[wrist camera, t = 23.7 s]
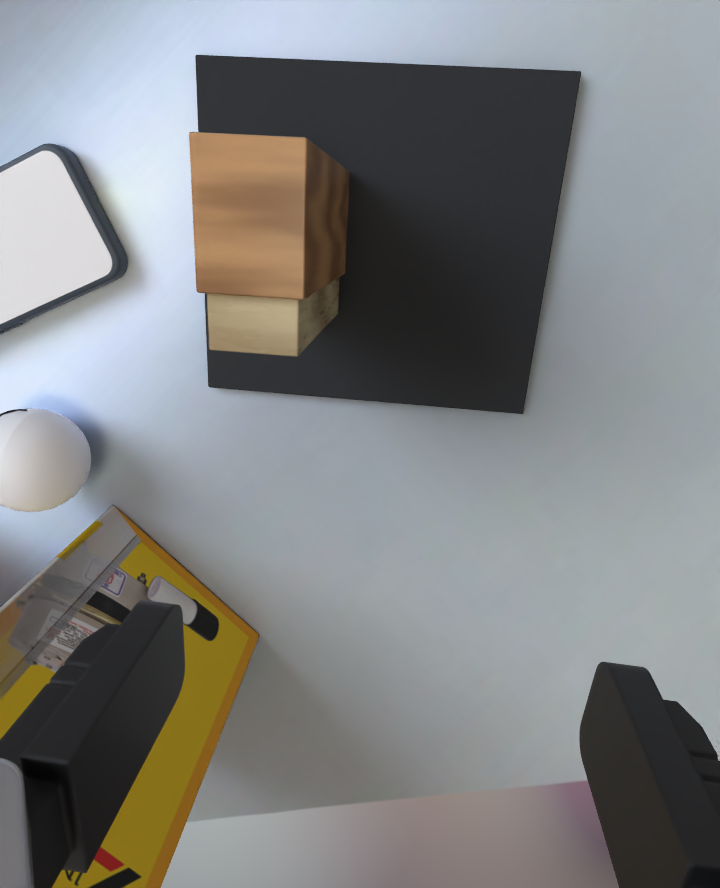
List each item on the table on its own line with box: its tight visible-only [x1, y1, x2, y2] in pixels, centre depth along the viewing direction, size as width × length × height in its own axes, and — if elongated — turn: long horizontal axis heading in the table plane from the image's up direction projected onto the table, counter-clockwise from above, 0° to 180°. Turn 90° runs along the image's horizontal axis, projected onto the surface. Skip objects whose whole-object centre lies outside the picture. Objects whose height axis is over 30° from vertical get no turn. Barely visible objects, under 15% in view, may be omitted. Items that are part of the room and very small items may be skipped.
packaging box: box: [0, 506, 259, 888], centre depth 38 cm, size 16×16×25 cm
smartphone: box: [0, 144, 127, 334], centre depth 38 cm, size 9×2×16 cm
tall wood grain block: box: [189, 132, 350, 357], centre depth 30 cm, size 14×5×8 cm
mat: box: [196, 55, 581, 414], centre depth 36 cm, size 22×20×1 cm
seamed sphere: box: [0, 408, 91, 512], centre depth 40 cm, size 10×7×7 cm
